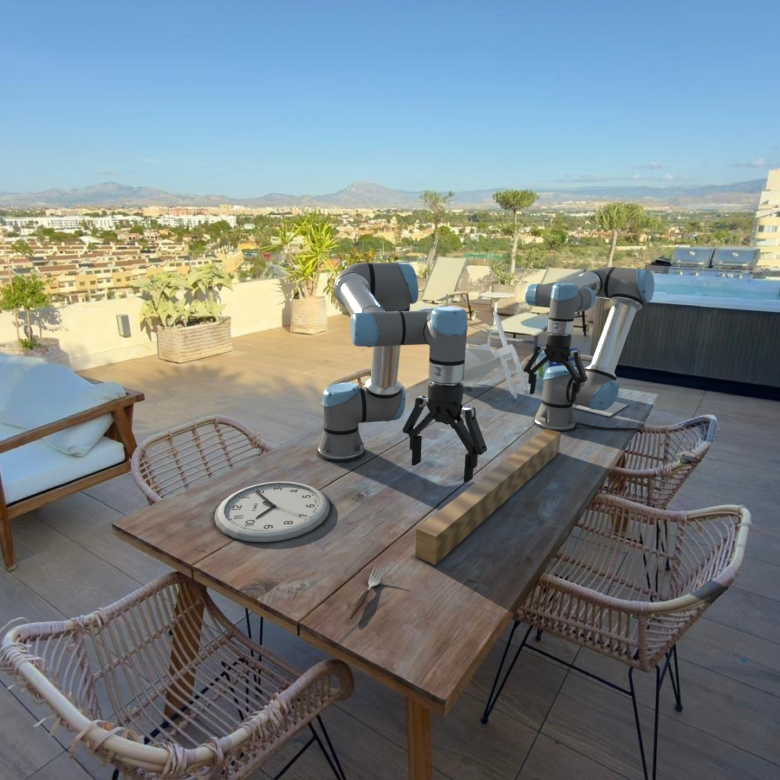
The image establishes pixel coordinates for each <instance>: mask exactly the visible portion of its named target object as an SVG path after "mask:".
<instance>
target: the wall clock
mask: <svg viewBox="0 0 780 780" xmlns="http://www.w3.org/2000/svg"><path fill="white" fill-rule="evenodd" d="M330 509H331V506H330V501H329V499H328V497H327V496H326V495H325V493H323V492H322V491H320V490H318V488H315V487H313V486H312V485H311V486H310V485H308V484H305V483H300V482H295V481H294V482H292V481H269V482H263V483H262V482H261V483H258V484H253V485H250V486H246V487H244V488H242V489H240V490H238V491H236V492H233V493H232V494H230V495H229V496H227V498H224V500H222V501H221V502H220V504H219V505H218V507H216V509H215V513H214V518H213V519H214V522H215V525H216V527H217V528H218V529H219V530H220V531H221V532H222V533H223V534H225V535H226V536H229V537H231V538H233V539H235V540H236V539H237V540H240V541H245V542H250V543H251V542H252V543H271V542H280V541H285V540H289V539H293V538H297V537H300V536H302V535H304V534H308V532H311V531H313V530H314V529H316V528H317V527H319V526H320V525H322V523H323V522H324V521H325V520H326V519H327V518H328V516H329V513H330Z"/></svg>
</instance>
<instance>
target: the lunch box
mask: <svg viewBox="0 0 780 780" xmlns="http://www.w3.org/2000/svg"><path fill="white" fill-rule="evenodd" d="M570 350H571V351H579V348H577V347H572V346H571V347H570ZM545 356H546V354H545V352H544V351H543V352H542V353H540V355H539V356H538V358H537V359H536V361H535V366H536V365H537V364H538V363H539V362H540V361H541V360H542V359H543V358H544V357H545ZM568 358H569V360H570V361H571V364H572V365H573V367H576V364H575V361H574V358H573V357H572V355H570V356H569V357H568ZM554 366H564V365H563V363H556V362H550V361H549V360H548V361H547V362H546V363H545V364H544V365H543V366H541V367H540V368H539V369H538V370H537V371H536V372H535V373H534V374H537V377H536V387H535V392H539V393H542V391H543V381H544V380H543V378H544V374H545V371H546V369H548V368H550V367H554ZM576 368H577V367H576Z"/></svg>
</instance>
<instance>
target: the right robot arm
mask: <svg viewBox="0 0 780 780" xmlns="http://www.w3.org/2000/svg"><path fill="white" fill-rule="evenodd" d="M654 293H655V278H654V274H653V272H652V271H650V270H648V269H642V268H640V267H639V268H630V267H615V266H605V267H600V268H595V269H590V270H586V271H584V272H582V273H581V274H579V275H578V276H574V277H570V278H565V279H561V280H556V281H553V282H552V281H551V282H547V283H540V282H539V283H530V284H529V285H528V286H527V287H526V289H525V292H524V301H525V303H526V304H527V305H529V306H532V307H536V308H537V307H539V308H548V309H549V312H548V313H549V314H548V321H547V329H546V330H547V333H546V340H545V346H543V345H542V344H538V345H536V346H535V348H534V352H533V354H532V355H531V357H530V359H529V360H528V362H527V363H526V365H525V366H524V368H523V373H527V374H528V380H527V383H528V384H529V385H530V386H529V394H530V396H532V395H533V394H535V393H536V391H535V387H536V377H537V374H535V372H536V371H537V370H538V369H539V368H540V367H541V366H543V365H544V364H545V363H546V362H547V361H548V360H549V361H550V362H556V363H563V365H564V366H554V367H550V368H548V369H546V371H545V374H544V378H543V380H544V381H543V391H542V392H541V393H542V394H541V402H540V405H539V407H538V410H537V411H536V413H535V417H534V424H535V425H536V426H537V427H539V428H542V429H543V430H545V429H549V430H553V431H557V432H567V431H572V430H574V429H575V428H576V425H577V426H581V427H587V428H590V429H591V428H592V429H597V430H609V431H635V432H638V433H639V434H641V435H643V434H644V432H643V431H642V430H641V429H639V428H636V427H609V426H600V425H599V426H598V425H592V424H587V423H583V422H577V421H576V418H575V417H576V416H575V413H574V407H573V405H575V406H578V405H580V406H584V407H588V408H591V409H596V410H601V411H604V410H607V409H608V408H609V407H611V406H612V404H613V403H614V402H616V400H617V398H618V395H619V390H620V384H619V382H618V381H617V378H618V377H617V375H616V373H615V371H616V369H617V366H618V362H619V360H620V357H621V354H622V352H623V349H624V345H625V343H626V340H627V337H628V334H629V332H630V328H631V326H632V323H633V321H634V318H635V315H636V313H637V312H639V311H640V310H642V308H643V306H644V304H647V303H648V304H649V303H650V302H651V301H652V299H653V297H654ZM597 298H602V299H603V298H604V299H608V301H609V304H610V305H611V306H610V309H609V311H608V314H607V317H606V320H605V323H604V326H603V329H602V331H601V334H600V337H599V339H598V342H597V345H596V348H595V350H594V354H593V356H592V359H591V362H590V365H587V366H586V367H585V366H584V363H583V362H582V358H581V350H578V351H571V350H570V347H572V340H573V339H572V338H573V336H572V333H573V331H574V321H575V314H576V313H579V312H586V311H588V310H590V309H592V308H593V307H594V306H595V304H596V302H597ZM543 351H544V352H545V354H546V356H545V357H544V358H543V359H542V360H541V361H540V362H539V363H538V364H537V365H536V364H535V363H536V360H537V358H538V356H539V355H540V353H542V352H543ZM570 355H572V357H573V358H574V361H575V364H576V367H577V368H576V367H573V365H572V364H571V361H570V360H569V358H568V357H569V356H570ZM534 364H535V366H534ZM533 366H534V367H533Z"/></svg>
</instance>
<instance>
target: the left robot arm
mask: <svg viewBox="0 0 780 780" xmlns="http://www.w3.org/2000/svg"><path fill="white" fill-rule="evenodd" d="M418 281H419V280H418V276H417V272H416V270H415V268H414V267H413V266H412V264H411V263H407V262H397V261H396V262H357V263H354V264H351V265H350V266H347V267H346V268H344V269H343V270H342V271H341V272H340V273H338V275H337V277H336V278H335V280H334V285H333V293H334V296H335V299H336V300H337V301H338V303H339V304H340V305H342V306H343V307H345V308H346V310H347V312H348V313H349V315H350V321H349V324H350V325H349V326H350V327H349V329H350V338H351V343H352V344H353V345H354V346H355V347H365V348H372V356H371V357H372V358H371V370H370V377H369V378H368V379H367V380H366V381H365V387H359V384H357V383H355V382H347V381H346V382H339V383H335V384H332V385H329V386H328V387H326V388H325V389H324V391H323V394H322V402H321V403H322V404H321V405H322V418H323V419H322V423H323V424H322V425H323V432H322V435H321V438H320V441H319V444H318V455H319V457H321V458H322V459H324V460H326V461H330V462H351V461H354V460H357V459H359V458H361V457H362V456H363V455H364V453H365V442H364V441H363V439H362V437H361V434H360V430H359V428H360V427H359V424H362V423H377V422H391V421H398V420H399V419H401V418H402V416H403V414H404V412H405V410H406V409H405V408H406V391H405V388H404V387H403V385H402V384H401V382H400V381H399V380H398V376H399V365H400V356H401V347H402V346H420V345H421V346H422V345H423V346H424V345H427V346H429V355H428V356H429V357H428V379H429V381H428V382H427V397H426V396H425V395H420V396H418V397H416V398H415V399H414V407H413V409H412V411H411V412H410V414H409V416H408V418H407V420H406V422H405V424H404V425H403V427H402V430H401V431H402V433H403V434H407V435H408V437H409V450H410V451H411V466H413V467H416V465H419V464H420V463H421V462H422V443H423V442H422V440H423V439H422V438H423V437H422V435H420V434H421V433H422V432H423V430H424V429H425V428H426V427H428V426H429V424H431V423H432V421H433V420H434V421H435V422H436V423H442V424H444V425H447V426H448V425H449V426H450V427H451V429H453V430H454V431H455V433H456V435H457V436H458V438H459V439H460V441H461V443H462V445H463V446H464V448H465V450H466V451H467V453H465V456H464V470H463V483H465V484H467V483H469V482H471V481H472V480H473V478H474V469H475V468H477V466H478V461H479V459H478V458H479V456H481V455H483V454H484V453H486V452H488V447H487V445H486V441H485V439H484V436H483V434H482V430H481V428H480V424H479V422H478V419H477V412H476V411H477V410H476V408H475V407H474V406H471V407H470V408H469V407H463V398H464V385H465V383H462V381H463V380H464V369H465V351H466V344H467V336H468V335H467V334H468V330H469V325H468V312H467V310H466V309H465V308H461V307H457V306H438V307H434V308H429V307H423V308H421V309H419V310H411V305H414V304H416V303H417V302H418V300H419V282H418ZM425 407H426V408H427V410H428V413H427V414H426V415H425V416H424V418H423V419H422V420H421V421H419V423H417V422H418V420H419V418H420V416H421V414H422V412H424V409H425ZM462 415H463V417H462ZM463 418H464V419H463ZM464 420H465V421H464ZM416 424H417V425H416ZM465 424H466V425H465ZM415 425H416V426H415Z"/></svg>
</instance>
